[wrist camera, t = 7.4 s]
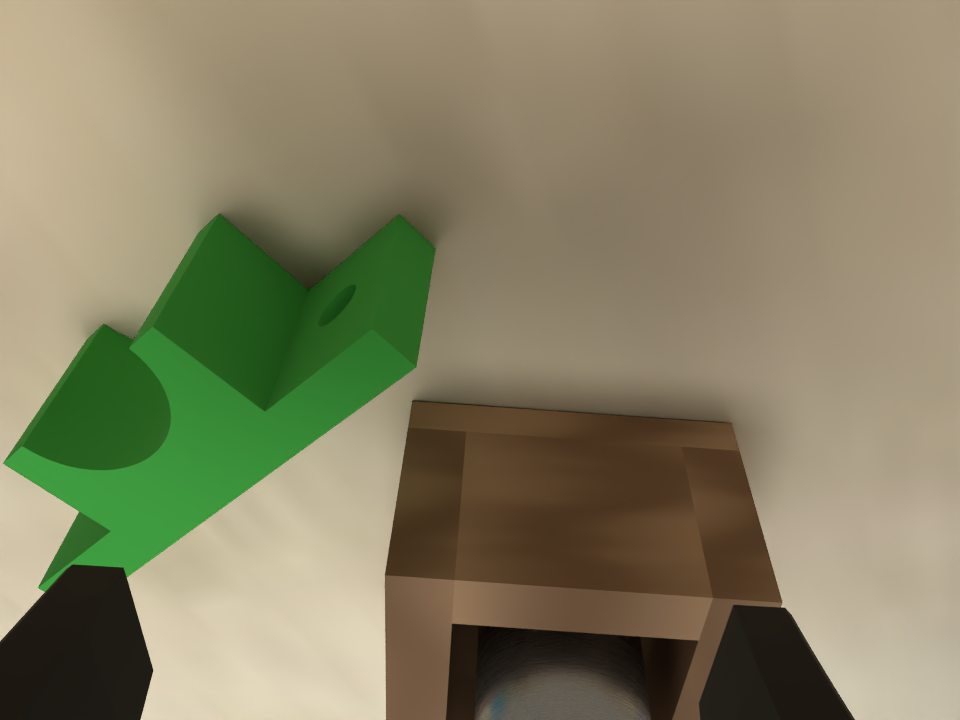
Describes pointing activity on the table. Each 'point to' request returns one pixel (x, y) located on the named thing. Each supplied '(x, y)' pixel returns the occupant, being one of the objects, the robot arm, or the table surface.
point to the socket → (566, 546)
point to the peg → (559, 676)
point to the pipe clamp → (218, 388)
